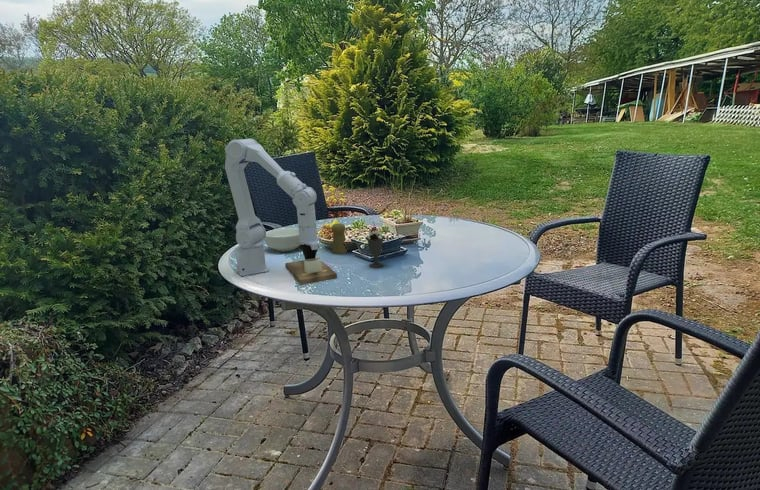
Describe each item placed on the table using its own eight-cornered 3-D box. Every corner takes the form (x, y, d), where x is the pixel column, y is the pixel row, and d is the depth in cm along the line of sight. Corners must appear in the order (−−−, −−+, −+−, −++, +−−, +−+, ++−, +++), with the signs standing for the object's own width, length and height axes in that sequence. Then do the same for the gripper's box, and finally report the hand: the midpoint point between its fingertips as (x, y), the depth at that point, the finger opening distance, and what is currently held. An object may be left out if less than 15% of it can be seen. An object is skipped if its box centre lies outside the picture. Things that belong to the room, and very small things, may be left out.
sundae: (376, 261, 159) (374, 220, 154) (389, 265, 154) (388, 222, 150) (362, 266, 154) (360, 223, 150) (376, 270, 149) (374, 226, 145)
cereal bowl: (311, 242, 187) (309, 226, 185) (303, 254, 171) (301, 236, 169) (271, 243, 188) (269, 227, 186) (259, 255, 172) (257, 237, 170)
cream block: (307, 273, 143) (306, 262, 142) (304, 271, 146) (303, 259, 145) (322, 271, 145) (321, 259, 144) (319, 268, 148) (318, 257, 147)
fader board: (300, 284, 139) (300, 279, 138) (285, 267, 156) (285, 262, 156) (337, 278, 143) (336, 273, 143) (318, 261, 161) (318, 257, 160)
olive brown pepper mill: (345, 254, 169) (343, 225, 166) (330, 253, 170) (328, 225, 167) (349, 249, 174) (347, 222, 172) (334, 249, 176) (332, 222, 173)
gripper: (326, 228, 140) (329, 269, 143) (312, 220, 152) (315, 258, 156) (304, 231, 137) (307, 273, 140) (292, 222, 150) (296, 261, 153)
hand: (310, 265), depth 148 cm, fingers closed
